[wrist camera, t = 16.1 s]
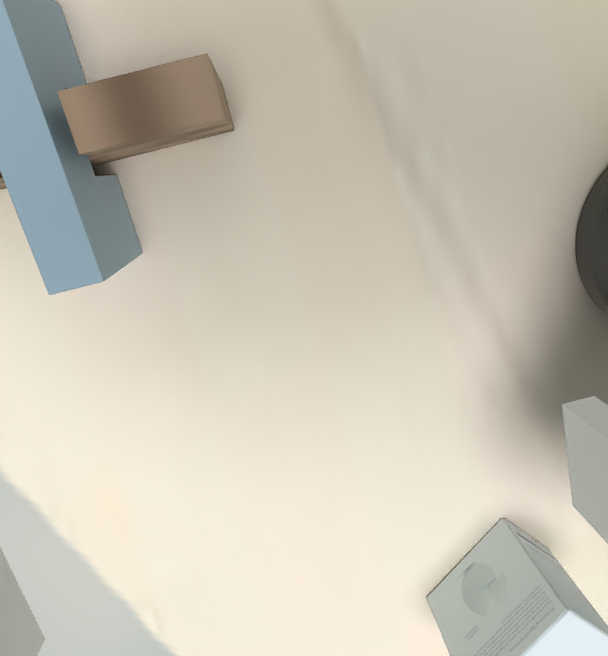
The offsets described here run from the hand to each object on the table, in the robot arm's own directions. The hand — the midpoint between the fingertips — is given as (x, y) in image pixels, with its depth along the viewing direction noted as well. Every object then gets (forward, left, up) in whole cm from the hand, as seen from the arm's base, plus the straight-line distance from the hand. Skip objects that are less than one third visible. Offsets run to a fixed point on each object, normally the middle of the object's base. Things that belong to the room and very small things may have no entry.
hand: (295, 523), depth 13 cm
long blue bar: (+10, -12, -29) cm, 33 cm away
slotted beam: (+10, -12, -29) cm, 33 cm away
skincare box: (-12, +31, -29) cm, 44 cm away
